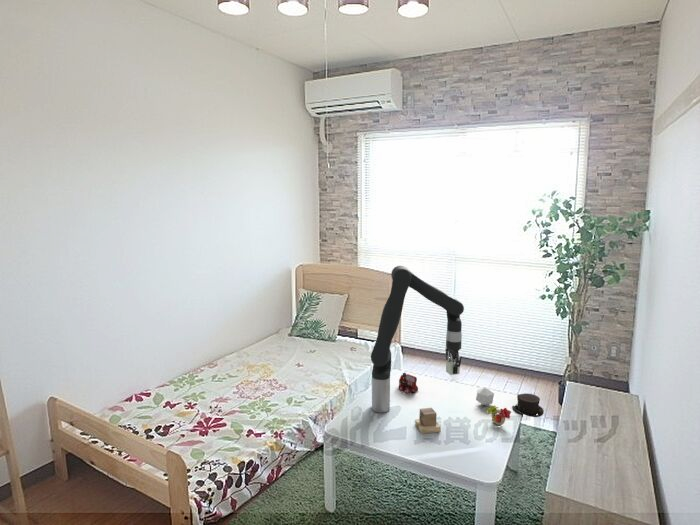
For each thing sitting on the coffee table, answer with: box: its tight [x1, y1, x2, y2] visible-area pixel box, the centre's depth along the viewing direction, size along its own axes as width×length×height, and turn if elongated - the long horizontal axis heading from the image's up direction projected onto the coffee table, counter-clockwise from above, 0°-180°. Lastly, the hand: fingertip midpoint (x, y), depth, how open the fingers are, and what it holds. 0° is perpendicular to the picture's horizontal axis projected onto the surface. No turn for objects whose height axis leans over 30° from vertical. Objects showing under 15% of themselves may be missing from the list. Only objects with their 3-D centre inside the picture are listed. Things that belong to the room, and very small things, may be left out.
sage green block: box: [445, 361, 461, 376], centre depth 229 cm, size 5×5×5 cm
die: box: [475, 387, 495, 406], centre depth 236 cm, size 8×9×10 cm
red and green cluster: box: [486, 405, 512, 426], centre depth 217 cm, size 6×11×9 cm, turn 44°
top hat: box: [511, 393, 545, 418], centre depth 231 cm, size 15×15×10 cm
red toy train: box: [397, 372, 419, 395], centre depth 255 cm, size 7×12×10 cm, turn 39°
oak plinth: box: [414, 418, 442, 435], centre depth 213 cm, size 9×9×2 cm
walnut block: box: [418, 407, 438, 427], centre depth 213 cm, size 6×6×6 cm
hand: (452, 371), depth 230 cm, fingers closed on sage green block, 5 cm apart
